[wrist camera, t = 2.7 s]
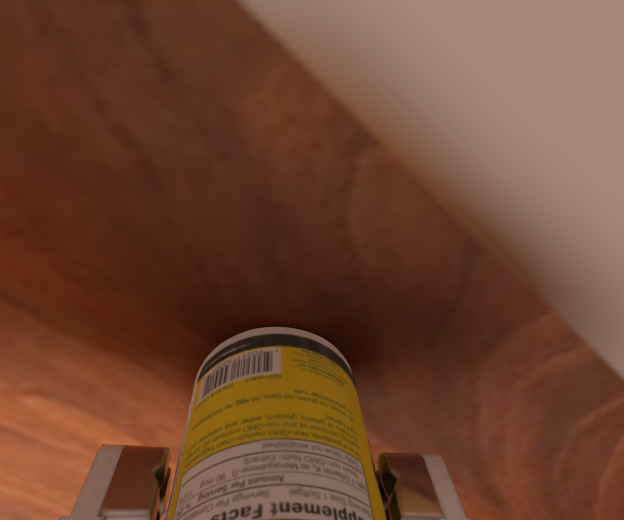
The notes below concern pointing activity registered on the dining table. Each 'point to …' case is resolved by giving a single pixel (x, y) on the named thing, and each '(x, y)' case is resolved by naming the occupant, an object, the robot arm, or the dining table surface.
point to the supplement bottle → (275, 435)
